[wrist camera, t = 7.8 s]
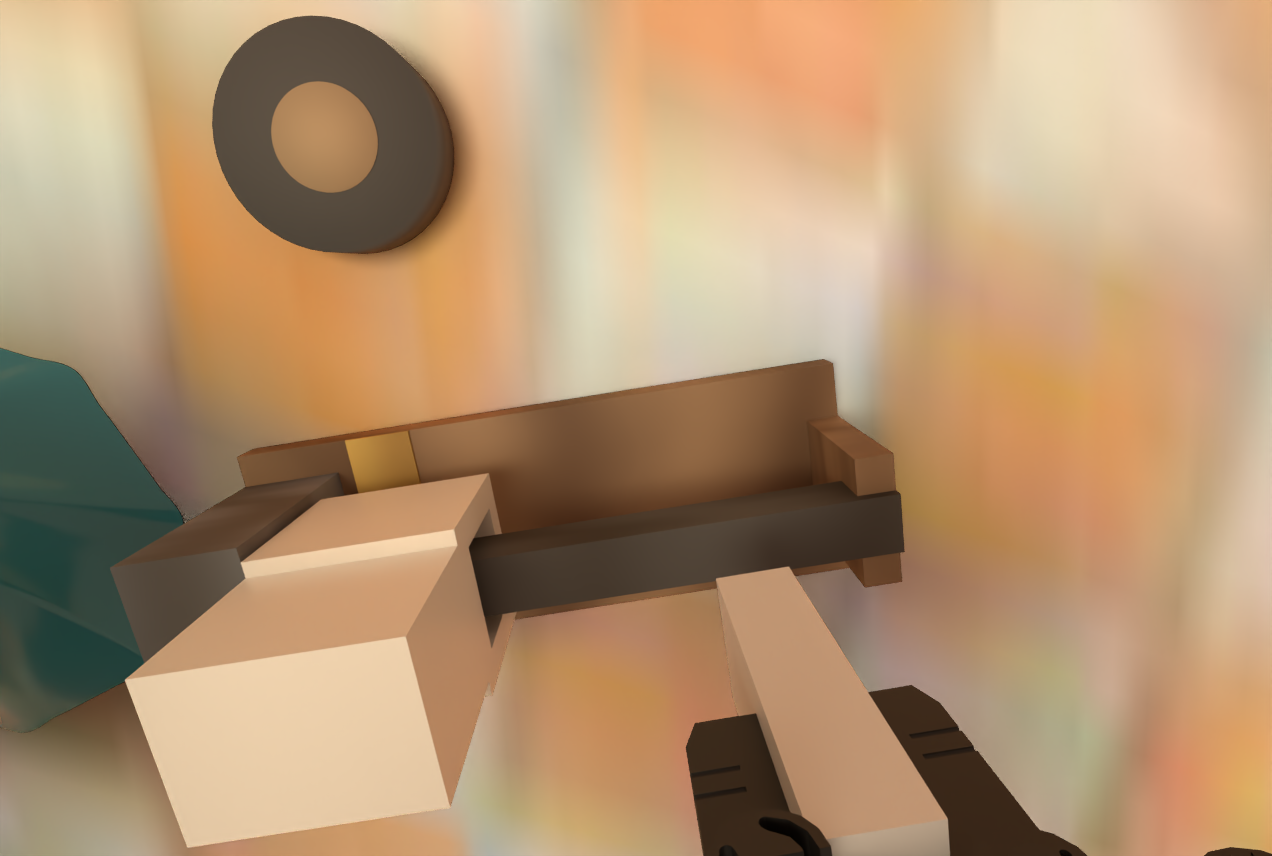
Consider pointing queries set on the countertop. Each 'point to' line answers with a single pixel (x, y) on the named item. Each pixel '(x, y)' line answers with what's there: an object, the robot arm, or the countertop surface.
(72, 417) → the vase
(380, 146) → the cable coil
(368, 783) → the sleeve
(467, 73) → the countertop surface
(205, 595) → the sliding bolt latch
